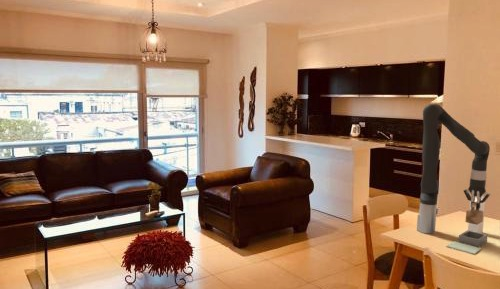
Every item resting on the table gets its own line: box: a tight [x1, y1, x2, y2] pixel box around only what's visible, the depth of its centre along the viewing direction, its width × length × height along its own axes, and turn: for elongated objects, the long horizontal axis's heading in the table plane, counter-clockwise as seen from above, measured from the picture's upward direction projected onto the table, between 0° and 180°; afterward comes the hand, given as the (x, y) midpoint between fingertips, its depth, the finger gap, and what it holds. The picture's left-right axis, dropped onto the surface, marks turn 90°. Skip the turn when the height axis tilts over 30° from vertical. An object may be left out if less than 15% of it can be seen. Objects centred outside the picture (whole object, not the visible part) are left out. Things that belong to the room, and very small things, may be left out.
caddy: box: [465, 201, 485, 225], centre depth 225 cm, size 6×8×11 cm
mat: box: [445, 240, 482, 255], centre depth 219 cm, size 14×10×1 cm
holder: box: [458, 229, 488, 248], centre depth 227 cm, size 10×12×4 cm
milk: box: [467, 196, 486, 234], centre depth 242 cm, size 6×6×22 cm
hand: (475, 208), depth 225 cm, fingers closed on caddy, 1 cm apart
